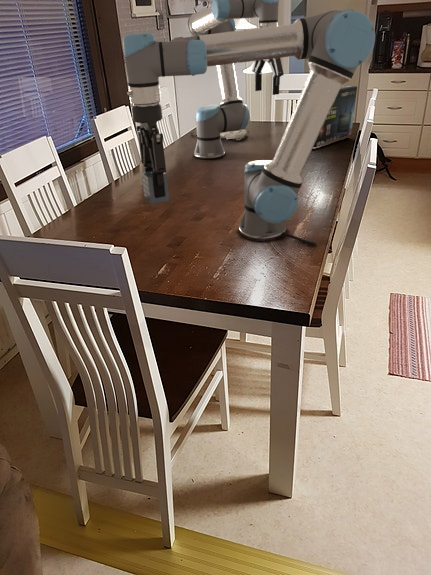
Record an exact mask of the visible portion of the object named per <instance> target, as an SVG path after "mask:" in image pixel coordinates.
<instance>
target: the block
mask: <svg viewBox="0 0 431 575" xmlns="http://www.w3.org/2000/svg"><path fill="white" fill-rule="evenodd" d="M140 173H141V174H140V175H141V180H142V182H141V183H142V188H143V196H144V200H145V201H146V202H147V203H148V204H149V205H150V206H155V205H159V204H163V203H169V202H170V194H169V193H170V192H169V191H170V190H169V181H168V174H167V172H164V173H163V178H164V187H165V196H164V197H160V198H155V192H154V183H153V175H151V173H153V170H152V171H147V172H145V171H141V172H140Z"/></svg>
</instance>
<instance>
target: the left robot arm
mask: <svg viewBox="0 0 431 575" xmlns="http://www.w3.org/2000/svg"><path fill="white" fill-rule="evenodd" d="M279 3H280V0H213V1H212V3H211V5H210V6H209V7H207V8H205V9H203V10H202V11H197V12H194V13H192V14H191V15H189V16H188V19H187V21H186V31H187V34H188V35H189V37H193V36H200V35H208V34H216V33H224V32H232V31H237V25H235V24H236V21H235V20H241V19H243V20H244V19H258V28H265V27H273V26H279ZM235 26H236V28H235ZM266 62H267V63H269V66H270V69H271V72H272V74H273V76H272V96H275V95H280V83H281V77H282V76H284V69H283V64H282V60H281V58H275V59H266V60H258V61H253V64H252V70H251V72H252V73H254V91H255V92H260V91H262V90H263V88H262V87H263V86H262V84H263V82H262V81H263V78H262V77H263V75H262V70H263V68H264V67H265V64H266ZM234 64H235V63H233V64H225V65H217V66H215V68H216V74H217V80H218V86H219V92H220V98H221V101H220V103H219V105H218V104H208V105H203V106H200V107H199V108H197V109H196V111H195V126H196V134H195V133H194V131H191V132H192V133H194V134H195V135H194V134H192V133H191V132H190V134H191V135H192V136H194V137H195V138H196V144H195V148H194V150H193V152H194V153H193V156H194V158H196V159H199V160H217V159H221V158H222V157H225V154H226V153H225V149H224V146H223V143H222V139H220V133H223V132H230V131H238V130H243V129H245V128H247V126H248V124H249V121H250V109H249V107H248V105H247V104H244V100H243V99H242V98H241V97H240V96H239V90H238V83H237V76H236V71H235V65H234ZM196 135H197V136H196Z"/></svg>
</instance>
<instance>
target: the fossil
mask: <svg viewBox="0 0 431 575" xmlns="http://www.w3.org/2000/svg"><path fill="white" fill-rule="evenodd" d="M249 132H250V129H249V128H248V127H246V128H245V129H243V130H238V131H230V132H223V133H220V137H224V138H220V139H221V140H228V139H233V140H234V139H240V138H243V139H245V137H247V135H246V134H247V133H249ZM249 134H250V133H249ZM244 136H245V137H244ZM225 138H226V139H225ZM235 141H236V142H240V141H241V140H235Z"/></svg>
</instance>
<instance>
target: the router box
mask: <svg viewBox="0 0 431 575" xmlns="http://www.w3.org/2000/svg"><path fill="white" fill-rule="evenodd" d="M357 93H358V86H356V85H350V84H343V85H342V86H341V88H340V90H339V92H338V94H337V96H336V99H335V101H334V103H333V105H332V107H331V109H330V112H329V114H328V116H327V118H326V120H325V122H324V125H323V127H322V129H321V131H320V133H319V135H318V137H317V140H316V142H315V144H314V146H313V147H317V146H320V145H323V144H325V143H328V142H331V141H333V140H336V139H338V138H341V137H344V136H347V135H351V136H352V133H353V132H352V131H353V125H354V115H355V109H356V99H357Z"/></svg>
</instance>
